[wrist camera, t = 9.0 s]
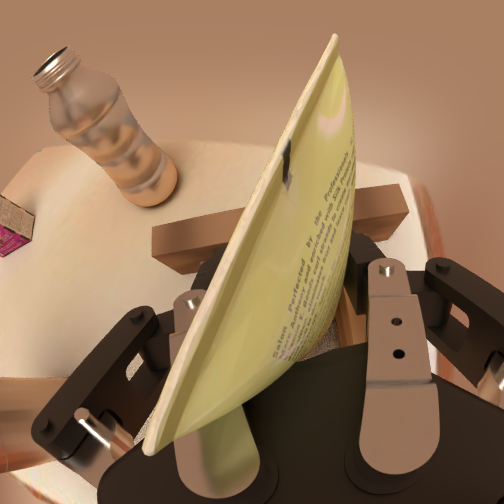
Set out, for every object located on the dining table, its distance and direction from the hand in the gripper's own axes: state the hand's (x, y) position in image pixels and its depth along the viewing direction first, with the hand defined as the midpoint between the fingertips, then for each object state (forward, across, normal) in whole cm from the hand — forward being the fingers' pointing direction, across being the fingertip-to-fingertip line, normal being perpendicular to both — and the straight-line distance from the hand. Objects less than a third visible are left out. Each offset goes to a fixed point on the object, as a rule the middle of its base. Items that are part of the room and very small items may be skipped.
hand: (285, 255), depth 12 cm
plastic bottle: (+19, +13, -2) cm, 23 cm away
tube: (+6, 0, +9) cm, 11 cm away
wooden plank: (+12, 0, +5) cm, 13 cm away
